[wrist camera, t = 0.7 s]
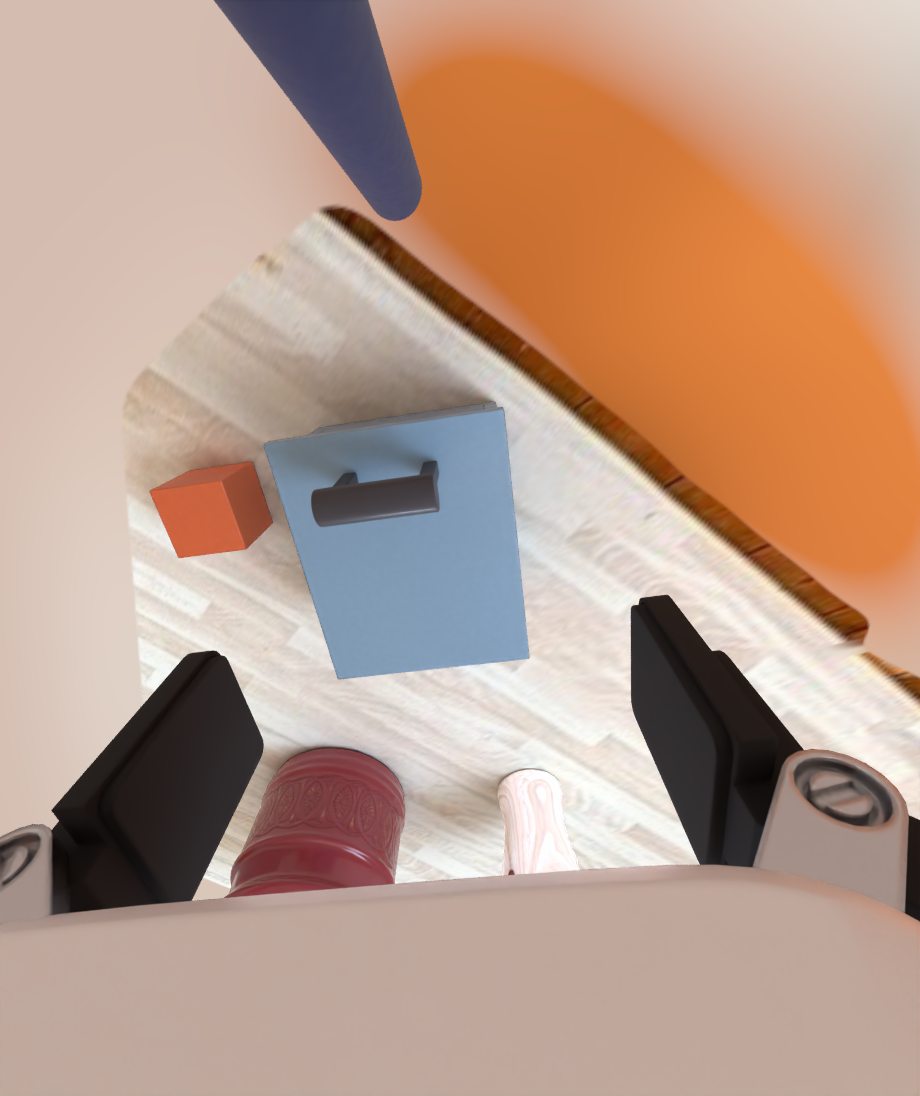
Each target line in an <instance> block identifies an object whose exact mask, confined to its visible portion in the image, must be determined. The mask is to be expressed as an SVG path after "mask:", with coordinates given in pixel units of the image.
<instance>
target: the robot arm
mask: <svg viewBox="0 0 920 1096" xmlns="http://www.w3.org/2000/svg"><path fill="white" fill-rule="evenodd" d="M631 702H632V708H633V712H634V715H635V718H636V720H637V723H638V725H639V727H640V729H641V732H642V734H643V736H644V739H645V741H646V743H647V745H648V748H649V750H650V752H651V755H652V757H653V759H654V761H655V764H656V766H657V768H658V771H659V773H660V775H661V777H662V780H663V782H664V784H665V786H666V789H667V791H668V793H669V796H670V798H671V800H672V802H673V805H674V807H675V809H676V812H677V814H678V816H679V818H680V821H681V823H682V825H683V828H684V830H685V832H686V834H687V837H688V839H689V841H690V844H691V846H692V848H693V850H694V853H695V855H696V857H697V859H698V861H699V864H700V865H659V866H642V867H624V868H606V869H589V870H571V871H558V872H545V873H531V874H518V875H505V876H491V877H478V878H465V879H452V880H438V881H425V882H413V883H400V884H388V885H375V886H363V887H351V888H338V889H326V890H314V891H302V892H290V893H278V894H265V895H254V896H243V897H231V898H220V899H208V900H197V901H192V899H193V897H194V895H195V893H196V891H197V889H198V886H199V884H200V882H201V880H202V878H203V876H204V874H205V872H206V870H207V868H208V866H209V864H210V862H211V860H212V858H213V855H214V853H215V851H216V849H217V847H218V845H219V843H220V841H221V839H222V837H223V835H224V833H225V831H226V829H227V827H228V824H229V822H230V820H231V818H232V816H233V814H234V812H235V810H236V808H237V806H238V804H239V802H240V800H241V798H242V796H243V794H244V791H245V789H246V787H247V785H248V783H249V781H250V779H251V777H252V775H253V773H254V771H255V769H256V767H257V765H258V763H259V760H260V758H261V756H262V754H263V747H264V744H263V739H262V736H261V734H260V732H259V730H258V727H257V725H256V723H255V721H254V718H253V716H252V714H251V711H250V709H249V707H248V705H247V702H246V700H245V698H244V696H243V693H242V691H241V689H240V687H239V684H238V682H237V680H236V677H235V675H234V673H233V671H232V668H231V666H230V664H229V662H228V660H227V658H226V657H225V656H221V655H220V654H219V653H218V652H217V651H205V652H197V653H190V654H188V655H186V656H185V657H184V658H183V660H182V661H181V662H180V663H179V664H178V665H177V666H176V668H175V669H174V670H173V671H172V672H171V673H170V674H169V676H168V677H167V678H166V679H165V680H164V681H163V683H162V684H161V685H160V686H159V687H158V688H157V689H156V691H155V692H154V693H153V694H152V695H151V696H150V697H149V699H148V700H147V701H146V702H145V703H144V704H143V706H142V707H141V708H140V709H139V710H138V711H137V712H136V714H135V715H134V716H133V717H132V718H131V719H130V720H129V722H128V723H127V724H126V725H125V726H124V728H123V729H122V730H121V731H120V732H119V733H118V734H117V735H116V737H115V738H114V739H113V740H112V741H111V742H110V744H109V745H108V746H107V747H106V748H105V749H104V751H103V752H102V753H101V754H100V755H99V756H98V758H96V760H95V761H94V762H93V763H92V764H91V765H90V767H89V768H88V769H87V770H86V771H85V772H84V773H83V775H82V776H81V777H80V778H79V779H78V780H77V781H76V783H75V784H74V785H73V786H72V787H71V788H70V790H69V791H68V792H67V793H66V794H65V795H64V796H63V798H62V799H61V800H60V801H59V802H58V803H57V804H56V806H55V807H54V808H53V809H52V812H53V813H54V815H55V816H56V817H57V819H58V820H59V822H58V823H57V825H56V826H55V827H54V828H53V829H52V830H51V829H50V828H49V827H46V826H45V825H43V824H39V825H38V824H34V825H33V824H32V825H29V826H25V827H21V828H19V829H16V830H14V831H12V832H9V833H8V834H5V835H3V836H1V837H0V1096H920V820H918V819H916V818H914V817H912V816H909V815H908V810H907V805H906V802H905V800H904V799H903V797H902V796H901V794H900V792H899V791H898V789H897V788H896V787H895V786H894V785H893V784H892V783H891V782H890V781H889V780H888V779H887V778H886V777H885V776H883V775H882V774H881V773H879V772H878V771H876V770H875V769H873V768H872V767H870V766H869V765H867V764H866V763H863V762H861V761H859V760H857V759H854V758H852V757H850V756H848V755H844V754H840V753H837V752H833V751H829V750H817V749H810V750H803V748H802V747H801V746H800V745H799V743H798V742H797V741H796V740H795V738H794V737H793V736H792V735H791V734H790V732H789V731H788V730H787V729H786V727H785V726H784V725H783V724H782V722H781V721H780V720H779V719H778V717H777V716H776V715H775V714H774V712H773V711H772V710H771V709H770V707H769V706H768V705H767V704H766V703H765V701H764V700H763V699H762V698H761V696H760V695H759V694H758V693H757V691H756V690H755V689H754V688H753V686H752V685H751V684H750V683H749V681H748V680H747V679H746V678H745V677H744V675H743V674H742V673H741V672H740V670H739V669H738V668H737V667H736V665H735V664H734V663H733V662H732V660H731V659H730V658H729V657H728V656H727V655H726V654H725V653H724V652H722V651H719V650H718V651H711V649H710V648H709V647H708V645H707V644H706V643H705V642H704V640H703V639H702V638H701V636H700V635H699V634H698V632H697V631H696V630H695V629H694V627H693V626H692V625H691V623H690V622H689V621H688V619H687V618H686V617H685V616H684V614H683V613H682V612H681V610H680V609H679V608H678V606H677V605H676V604H675V603H674V601H673V600H672V599H671V597H670V596H668V595H661V596H653V597H645V598H641V599H640V600H639V605H634V606H632V607H631Z"/></svg>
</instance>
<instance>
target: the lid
mask: <svg viewBox="0 0 920 1096" xmlns="http://www.w3.org/2000/svg"><path fill="white" fill-rule="evenodd" d="M264 448H265V451H266V454H267V458H268V461H269V464H270V467H271V470H272V473H273V476H274V480H275V483H276V486H277V489H278V492H279V495H280V498H281V502H282V505H283V508H284V511H285V514H286V517H287V520H288V524H289V527H290V530H291V533H292V536H293V539H294V542H295V546H296V549H297V552H298V555H299V558H300V561H301V564H302V568H303V571H304V574H305V577H306V580H307V583H308V586H309V590H310V593H311V596H312V599H313V602H314V605H315V609H316V612H317V615H318V618H319V621H320V624H321V627H322V631H323V634H324V637H325V640H326V643H327V646H328V649H329V653H330V656H331V659H332V662H333V665H334V668H335V671H336V675H337V678H338V679H347V678H356V677H365V676H375V675H384V674H393V673H402V672H412V671H421V670H430V669H439V668H449V667H458V666H467V665H476V664H485V663H495V662H504V661H513V660H522V659H529V649H528V639H527V629H526V619H525V610H524V600H523V590H522V580H521V570H520V561H519V551H518V541H517V531H516V522H515V512H514V502H513V492H512V482H511V473H510V463H509V453H508V443H507V434H506V424H505V414H504V409H503V407H497V408H491V409H484V410H477V411H470V412H463V413H456V414H450V415H443V416H436V417H429V418H422V419H416V420H409V421H402V422H395V423H388V424H381V425H375V426H368V427H361V428H354V429H347V430H341V431H334V432H327V433H320V434H313V435H306V436H300V437H293V438H286V439H279V440H272V441H268V442H266V443H265V444H264Z"/></svg>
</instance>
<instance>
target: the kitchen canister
mask: <svg viewBox="0 0 920 1096" xmlns="http://www.w3.org/2000/svg"><path fill="white" fill-rule="evenodd" d="M404 819H405V804H404V793H403V789H402V787H401V784H400V782H399V780H398V779H397V777H396V776H395V775H394V774H393V773H392V772H391V771H390V770H389V769H388V768H387V767H386V766H385V765H383V764H382V763H380V762H379V761H377V760H375V759H373V758H371V757H369V756H367V755H364V754H362V753H358V752H355V751H351V750H345V749H335V748H326V749H316V750H311V751H307V752H304V753H301V754H299V755H297V756H295V757H293V758H291V759H290V760H288V761H287V762H286V763H285V764H284V765H283V766H282V767H281V768H280V769H279V770H278V772H277V774H276V775H275V776H274V777H273V779H272V780H271V782H270V783H269V785H268V787H267V789H266V792H265V794H264V796H263V799H262V803H261V808H260V810H259V813H258V815H257V817H256V820H255V822H254V824H253V827H252V829H251V831H250V834H249V836H248V838H247V841H246V843H245V845H244V848H243V850H242V852H241V854H240V855H239V856H238V858H237V859H236V861H235V863H234V865H233V867H232V870H231V890H230V892H229V894H228V895H227V896H225V897H224V898H231V897H243V896H254V895H265V894H278V893H290V892H302V891H314V890H326V889H338V888H351V887H363V886H375V885H388V884H395V874H396V866H397V859H398V851H399V843H400V835H401V833H402V831H403V827H404Z"/></svg>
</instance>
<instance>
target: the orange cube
mask: <svg viewBox="0 0 920 1096" xmlns="http://www.w3.org/2000/svg"><path fill="white" fill-rule="evenodd" d="M150 494H151V496H152V499H153V501H154V503H155V505H156V508H157V510H158V512H159V515H160V517H161V519H162V521H163V524H164V526H165V528H166V531H167V533H168V535H169V537H170V540H171V542H172V544H173V547H174V549H175V551H176V553H177V556H178V558H184V557H191V556H199V555H207V554H214V553H222V552H230V551H237V550H245V549H247V548H248V547H249V546H250V545H251V544H252V543H253V542H254V541H255V540H256V539H257V538H258V537H259V536H260V535H261V534H262V533H263V532H264V531H265V530H266V529H267V528H268V527H269V526H270V525H271V524H272V523H273V522H272V519H271V516H270V513H269V510H268V507H267V504H266V501H265V498H264V495H263V492H262V489H261V486H260V483H259V480H258V477H257V474H256V471H255V468H254V465H253V462H246V463H239V464H232V465H225V466H218V467H211V468H204V469H197V470H190V471H188V472H186V473H184V474H182V475H180V476H178V477H176V478H174V479H172V480H170V481H168V482H166V483H164V484H162V485H160V486H158V487H156V488H154V489H152V490H150Z"/></svg>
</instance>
